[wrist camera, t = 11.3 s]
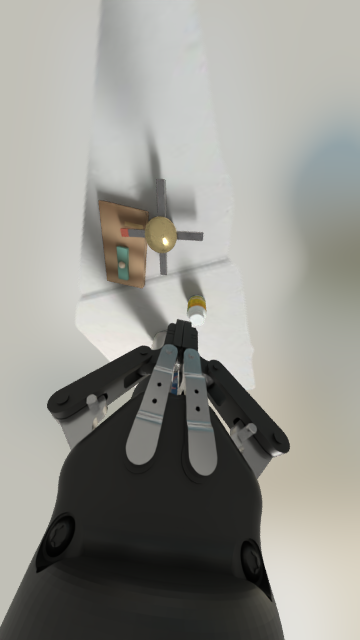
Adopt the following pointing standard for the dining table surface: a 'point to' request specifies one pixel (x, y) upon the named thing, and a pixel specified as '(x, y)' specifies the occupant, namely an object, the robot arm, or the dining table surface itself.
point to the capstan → (161, 230)
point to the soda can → (175, 383)
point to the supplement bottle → (196, 310)
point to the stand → (123, 243)
